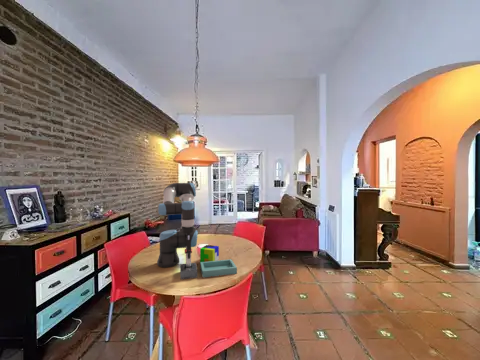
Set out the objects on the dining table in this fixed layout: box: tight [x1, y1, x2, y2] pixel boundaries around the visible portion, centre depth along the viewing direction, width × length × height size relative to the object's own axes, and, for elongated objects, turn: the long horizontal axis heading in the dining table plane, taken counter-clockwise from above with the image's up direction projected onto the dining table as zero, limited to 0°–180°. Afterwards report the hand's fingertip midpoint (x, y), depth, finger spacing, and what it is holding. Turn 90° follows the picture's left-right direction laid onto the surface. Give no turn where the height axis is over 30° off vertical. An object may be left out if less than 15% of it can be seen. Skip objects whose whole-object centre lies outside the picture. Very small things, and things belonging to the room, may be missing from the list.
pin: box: [184, 248, 193, 268], centre depth 149 cm, size 5×5×16 cm
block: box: [179, 262, 198, 280], centre depth 149 cm, size 12×10×5 cm
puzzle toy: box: [199, 244, 220, 263], centre depth 172 cm, size 10×10×10 cm
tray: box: [199, 258, 238, 278], centre depth 155 cm, size 16×22×4 cm
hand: (188, 259), depth 148 cm, fingers open, 12 cm apart
